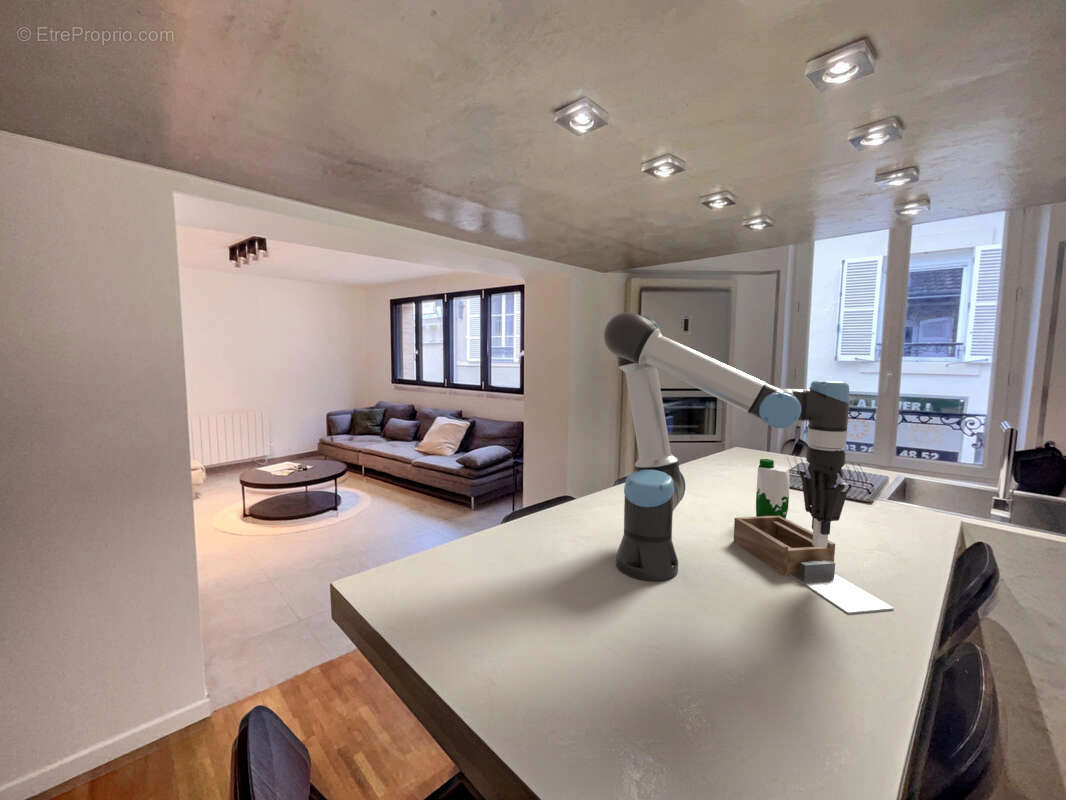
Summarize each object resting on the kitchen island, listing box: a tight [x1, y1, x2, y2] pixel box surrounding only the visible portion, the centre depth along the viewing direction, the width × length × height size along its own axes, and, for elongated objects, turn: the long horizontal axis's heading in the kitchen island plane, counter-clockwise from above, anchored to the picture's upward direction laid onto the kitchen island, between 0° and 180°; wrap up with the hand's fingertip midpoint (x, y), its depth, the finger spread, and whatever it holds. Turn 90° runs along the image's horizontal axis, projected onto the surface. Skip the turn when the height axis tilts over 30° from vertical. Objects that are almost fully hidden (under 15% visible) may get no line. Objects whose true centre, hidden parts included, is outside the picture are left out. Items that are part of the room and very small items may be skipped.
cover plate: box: [788, 560, 894, 615], centre depth 100 cm, size 11×17×4 cm, turn 9°
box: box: [733, 516, 836, 576], centre depth 118 cm, size 14×20×7 cm
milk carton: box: [755, 458, 791, 519], centre depth 142 cm, size 9×9×20 cm
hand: (819, 545), depth 105 cm, fingers closed
